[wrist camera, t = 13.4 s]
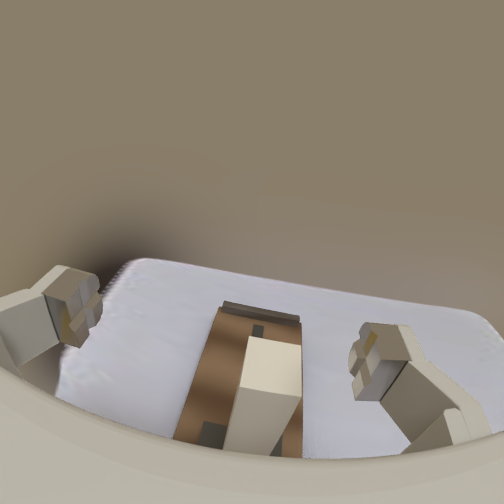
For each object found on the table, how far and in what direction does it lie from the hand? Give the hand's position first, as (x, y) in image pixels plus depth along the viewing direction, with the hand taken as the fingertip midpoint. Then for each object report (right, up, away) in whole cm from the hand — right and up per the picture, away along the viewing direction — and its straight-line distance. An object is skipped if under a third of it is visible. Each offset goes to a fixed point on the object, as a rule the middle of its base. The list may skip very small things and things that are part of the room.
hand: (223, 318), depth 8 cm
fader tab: (0, -13, +8) cm, 16 cm away
